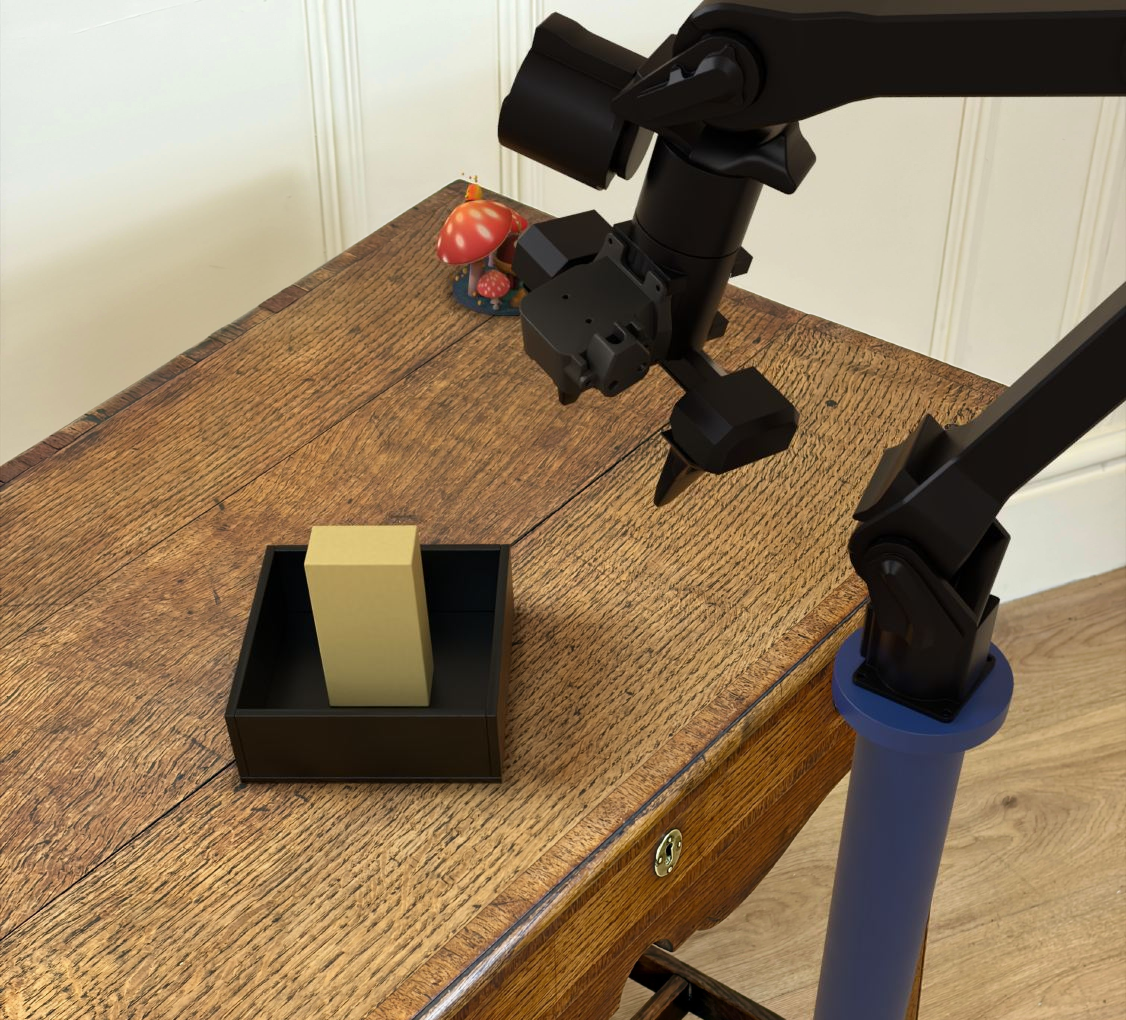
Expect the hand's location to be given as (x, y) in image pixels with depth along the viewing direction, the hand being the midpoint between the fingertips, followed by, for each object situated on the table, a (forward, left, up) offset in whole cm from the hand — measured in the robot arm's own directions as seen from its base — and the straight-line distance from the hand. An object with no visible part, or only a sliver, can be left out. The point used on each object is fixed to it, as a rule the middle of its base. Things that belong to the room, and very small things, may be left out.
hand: (613, 452), depth 92 cm
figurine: (+31, -29, -13) cm, 44 cm away
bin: (+8, +14, -12) cm, 20 cm away
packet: (+8, +14, -12) cm, 20 cm away
